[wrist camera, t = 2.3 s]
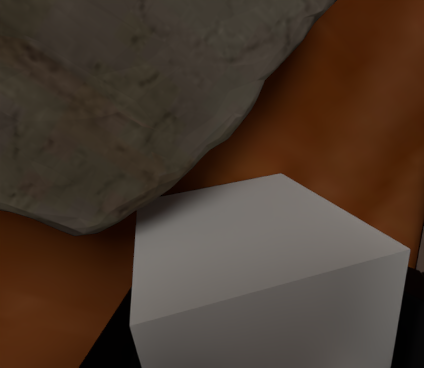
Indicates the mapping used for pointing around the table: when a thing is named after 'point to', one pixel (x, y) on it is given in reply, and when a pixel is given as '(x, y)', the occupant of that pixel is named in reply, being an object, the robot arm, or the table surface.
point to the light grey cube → (263, 281)
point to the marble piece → (127, 96)
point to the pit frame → (421, 255)
